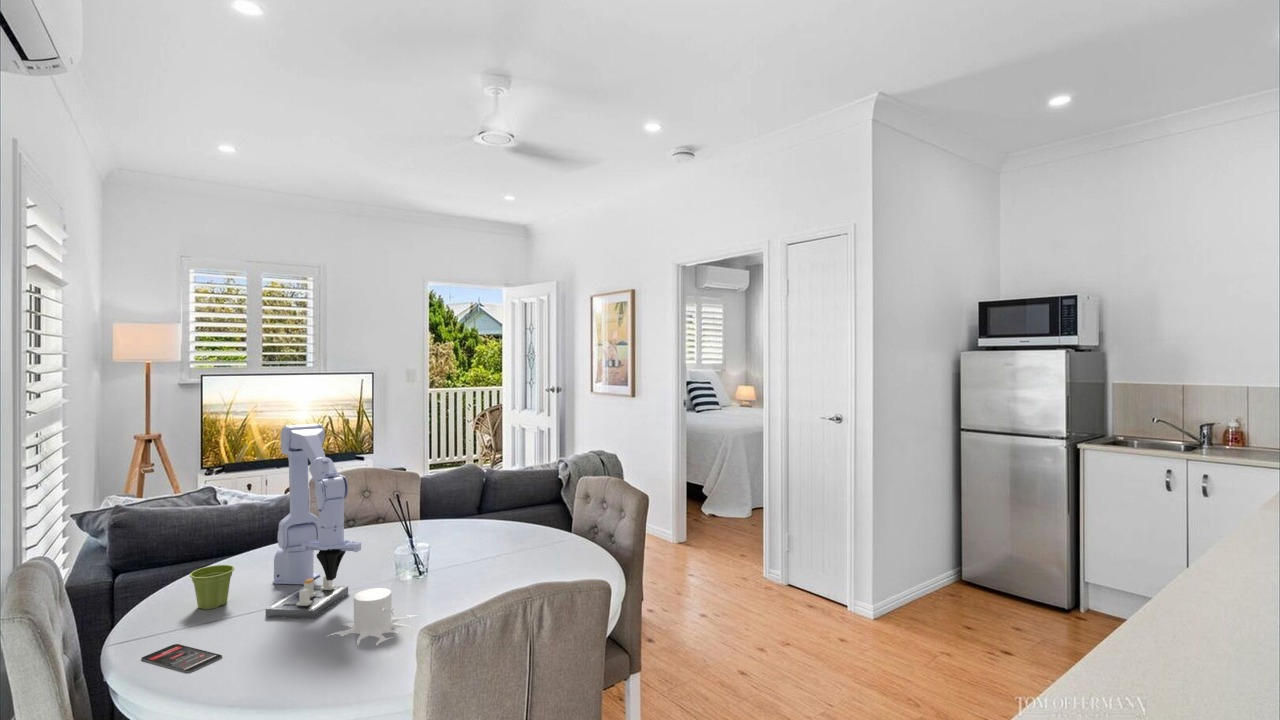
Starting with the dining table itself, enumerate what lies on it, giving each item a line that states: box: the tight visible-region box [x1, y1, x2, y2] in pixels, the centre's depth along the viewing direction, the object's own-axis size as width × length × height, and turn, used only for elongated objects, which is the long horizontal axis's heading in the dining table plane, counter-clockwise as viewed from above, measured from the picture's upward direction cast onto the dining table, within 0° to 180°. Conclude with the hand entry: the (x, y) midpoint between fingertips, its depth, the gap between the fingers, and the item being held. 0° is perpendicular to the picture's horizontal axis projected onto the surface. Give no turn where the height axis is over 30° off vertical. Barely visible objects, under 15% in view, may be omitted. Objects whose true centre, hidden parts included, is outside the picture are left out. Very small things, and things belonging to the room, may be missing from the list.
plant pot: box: [189, 564, 235, 610], centre depth 161 cm, size 9×9×9 cm
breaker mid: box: [303, 578, 317, 597], centre depth 161 cm, size 3×2×4 cm
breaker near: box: [296, 589, 313, 606], centre depth 156 cm, size 3×2×3 cm
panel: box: [265, 584, 349, 619], centre depth 161 cm, size 12×16×2 cm
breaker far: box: [320, 575, 336, 590], centre depth 166 cm, size 3×2×3 cm
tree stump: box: [326, 587, 418, 646], centre depth 149 cm, size 20×19×8 cm
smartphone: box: [140, 643, 223, 674], centre depth 133 cm, size 7×1×15 cm
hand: (331, 579), depth 161 cm, fingers closed
